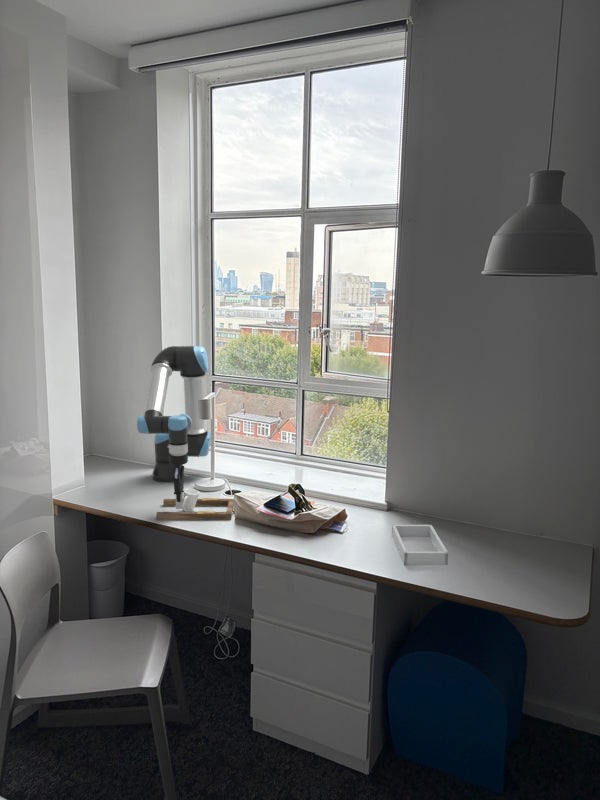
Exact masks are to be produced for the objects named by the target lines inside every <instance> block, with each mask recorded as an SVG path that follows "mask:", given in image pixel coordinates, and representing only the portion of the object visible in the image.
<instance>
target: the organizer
mask: <svg viewBox="0 0 600 800" xmlns="http://www.w3.org/2000/svg"><path fill="white" fill-rule="evenodd" d="M391 528H392V529H391V538H392V539H393V543H394V544H395V547H396V550H397V552H398V554H399V557H400V559H401V561H402V564H403V565H404V566H448V565H449V564H448V562H449V561H448V560H449V551H448V550H447V548H446V547H445V545H444V543H443V542H442V539H441V538H440V536H439V535H438V534H437V533H438V532H437V531H436V530H435V529H434V526H433V525H432V524H392V526H391ZM402 538H429V540H430V542H431V543H432V546H433V547H434V549H435V550H436V551H408V550H407V548H406V546H405V545H404V541H403V540H402Z"/></svg>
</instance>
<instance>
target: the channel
mask: <svg viewBox="0 0 600 800" xmlns="http://www.w3.org/2000/svg"><path fill="white" fill-rule="evenodd" d="M162 501H163V503H162V504H163V507H176V498H164V499H163V500H162ZM195 507H227V508H226V511H215V510H213V511H212V510H211V511H210V510H207V511H206V510H205V511H203V510H202V511H201V510H200V511H191V512H189V511H187V512H186V511H157V512H156V514H155V516H156V518H155V519H156V520H157V521H163V520H164V521H168V520H169V521H170V520H172V521H173V520H175V521H176V520H177V521H180V520H181V521H182V520H183V521H187V520H188V521H190V520H191V521H192V520H193V521H194V520H196V521H199V520H200V521H201V520H204V521H205V520H206V521H207V520H210V521H212V520H214V521H215V520H216V521H217V520H218V521H219V520H221V521H222V520H225V521H226V520H227V521H229V520H232V518H233V513H234V507H235V498H220V497H207V498H206V497H202V498H198V499H197V502H196V505H195Z"/></svg>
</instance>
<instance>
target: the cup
mask: <svg viewBox="0 0 600 800" xmlns="http://www.w3.org/2000/svg"><path fill="white" fill-rule="evenodd" d="M183 490H185V492H182V493H183V505H182V509H181V510H183V512H194V509H195V507H196V506H195V505H196V502H197V499H199V497H200V491H199V490H197V489H194V488H184V489H183Z"/></svg>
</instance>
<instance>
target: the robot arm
mask: <svg viewBox="0 0 600 800" xmlns="http://www.w3.org/2000/svg"><path fill="white" fill-rule="evenodd" d="M209 367H210V366H209V357H208V353H207V351H206V348H205V347H204V346H196V345H188V346H187V345H181V346H179V345H178V346H175V345H172V346H168V347H166V348H164V349H162V350H161V351H160V352H158V354H156V356H155V357H154V359H153V360H152V363H151V367H150V373H151V379H150V384H149V389H148V394H147V399H146V403H145V404H146V405H145V409H144V414H142V415H139V416H138V417H137V420H136V429H137V432H138V433H139V434H144V435H145V434H147V435H150V434H152V435H154V454H155V455H154V456H155V463H154V467H153V471H152V475H151V476H152V480H154V481H157V482H162V483H165V482H166V483H167V482H168V483H169V482H173V490H174V492H173V495H175V499H176V506H175V509H177V510H183V509H182V505H183V493H184V492H185V490H184V489H185V488H184V483H185V482H184V478H185V466H184V465H185V464H187V463H189V461H188V460H189V457H191V458H193V457H195V458H200V457H206V456H208V455H209V452H210V447H211V437H212V434H211V433H210V432H209V431H208V428H207V427H206V425H205V419H204V420H202V419H199V417H198V400H201V399H203V400H204V391H203V390H204V387H203V386H204V385H203V379H204V377H205V376H206V373H207V372H208V371H209ZM173 372H179V374H180V377H181V378H182V379H183V390H184V410H185V411H184V412H185V413H181V414H177V415H163V414H164V409H165V404H166V403H165V402H166V398H167V393H168V392H167V390H168V385H169V381H170V380H169V379H170V377H171V376H172V374H173Z"/></svg>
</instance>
